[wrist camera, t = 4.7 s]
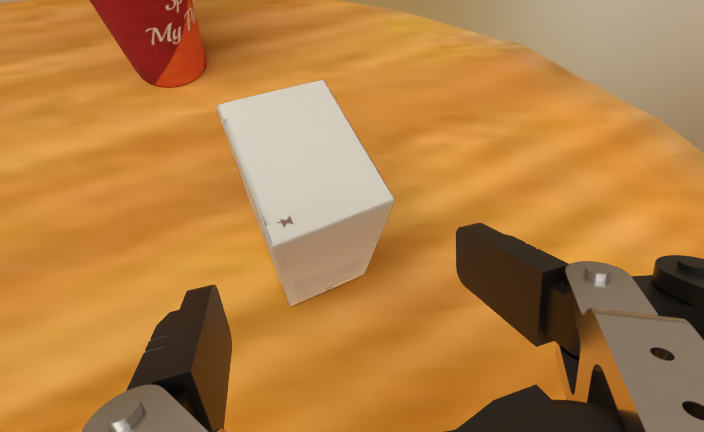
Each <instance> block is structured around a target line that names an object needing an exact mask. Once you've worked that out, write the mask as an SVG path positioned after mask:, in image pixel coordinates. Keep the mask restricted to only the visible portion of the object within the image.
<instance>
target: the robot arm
mask: <svg viewBox="0 0 704 432" xmlns="http://www.w3.org/2000/svg"><path fill="white" fill-rule="evenodd" d="M456 268H457V274H458V277H459V279H460V281H461V282H462V284H463V285H464V286H465V287H466V288H468V289H469V290H470V291H471V292H472V293H473V294H475V295H476V296H477V297H478V298H479V299H481V300H482V301H483V302H484V303H485V304H486V305H488V306H489V307H490V308H491V309H492V310H494V311H495V312H496V313H497V314H498V315H499V316H501V317H502V318H503V319H504V320H505V321H507V322H508V323H509V324H510V325H511V326H512V327H514V328H515V329H516V330H517V331H518V332H519V333H521V334H522V335H523V336H524V337H525V338H527V339H528V340H529V341H530V342H531V343H532V344H534V345H535V346H536V347H537V346H540V345H543V344H546V343H549V342H552V341H555V342H556V343H557V350H556V355H557V360H558V364H559V368H560V373H561V377H562V381H563V385H564V390H565V394H566V398H567V400H551V399H550V398H549V397H548V396H547V395H546V394H545V393H544V392H543V391H542V390H541V389H540V388H539V387H538V386H537V385H534V386H531V387H528V388H525V389H523V390H520V391H517V392H515V393H512V394H509V395H507V396H504V397H501V398H498V399H496V400H493V401H492V402H491V403H490V404H488V405H487V406H486V407H484V408H483V409H482V410H481V411H479V412H478V413H477V414H476V415H474V416H473V417H472V418H470V419H469V420H468V421H467V422H465V423H464V424H463V425H461V426H460V427H459V428H457V429H455V430H453V431H446V432H704V259H701V258H696V257H690V256H679V255H671V256H663V257H660V258H658V259H657V260H656V262H655V267H654V271H653V275H648V276H630V275H629V274H628V273H627V272H626V271H624V270H622V269H620V268H618V267H615V266H612V265H609V264H605V263H600V262H591V261H581V262H575V263H572V264H568V263H566V262H564V261H562V260H560V259H558V258H556V257H554V256H552V255H550V254H547V253H545V252H543V251H541V250H539V249H536V248H535V247H533V246H531V245H529V244H526V243H525V242H523V241H521V240H519V239H517V238H515V237H513V236H509V235H505V234H502V233H500V232H498V231H496V230H494V229H492V228H490V227H488V226H486V225H484V224H482V223H476V224H471V225H467V226H463V227H459V228H458V229H457V232H456ZM145 351H146V353H144V354H143V356H142V358H141V360H140V362H139V365H138V367H137V369H136V371H135V373H134V375H133V377H132V380H131V382H130V384H129V386H128V388H127V390H126V392H124V393H122V394H120V395H118V396H116V397H115V398H113V399H112V400H110V401H109V402H107V403H106V404H105V405H104V406H102V407H101V408H100V409H99V410H98V411H97V412H96V413H95V414H94V415H93V416H92V417H91V418H90V419H89V421H88V422H87V424H86V425H85V426H84V428H83V430H82V432H226V431H225V430H223V429H224V420H225V410H226V400H227V391H228V381H229V372H230V362H231V353H232V340H231V333H230V329H229V325H228V322H227V318H226V315H225V312H224V309H223V305H222V302H221V299H220V295H219V292H218V289H217V287H216V286H215V285H210V286H205V287H201V288H197V289H192V290H188V291H187V292H186V294H185V297H184V300H183V302H182V305H181V307H180V310H177V311H173V312H170V313H169V314H168V315H167V316H166V317H165V318H164V319H163V320H162V321H161V322H160V323H159V324H158V325H157V326H156V328H155V330H154V332H153V334H152V337H151V341H149V343H148V345H147V347H146V349H145Z"/></svg>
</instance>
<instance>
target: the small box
mask: <svg viewBox="0 0 704 432" xmlns="http://www.w3.org/2000/svg"><path fill="white" fill-rule="evenodd" d="M217 111H218V114H219V117H220V120H221V122H222V125H223V128H224V131H225V134H226V136H227V139H228V142H229V145H230V148H231V150H232V153H233V156H234V159H235V162H236V164H237V167H238V170H239V173H240V176H241V178H242V181H243V184H244V187H245V190H246V193H247V195H248V198H249V201H250V204H251V207H252V209H253V212H254V214H255V217H256V219H257V222H258V225H259V227H260V230H261V232H262V235H263V237H264V240H265V242H266V245H267V248H268V250H269V253H270V256H271V258H272V261H273V263H274V266H275V269H276V271H277V274H278V276H279V279H280V282H281V284H282V287H283V289H284V292H285V294H286V297H287V300H288V302H289V304H290V306H293V305H295V304H297V303H300V302H302V301H304V300H307V299H309V298H311V297H313V296H316V295H318V294H320V293H323V292H325V291H327V290H330V289H332V288H334V287H337V286H339V285H341V284H343V283H346V282H348V281H350V280H353V279H355V278H357V277H359V276H362V275H364V274H365V271H366V269H367V267H368V264H369V262H370V259H371V257H372V255H373V252H374V250H375V248H376V245H377V243H378V240H379V238H380V236H381V233H382V231H383V228H384V226H385V224H386V221H387V219H388V216H389V214H390V212H391V209H392V207H393V204H394V202H395V198H394V196H393V195H392V193H391V192H390V190H389V188H388V186H387V185H386V183H385V181H384V180H383V178H382V176H381V175H380V173H379V171H378V170H377V168H376V166H375V165H374V163H373V161H372V160H371V158H370V156H369V155H368V153H367V151H366V150H365V148H364V146H363V145H362V143H361V142H360V140H359V138H358V136H357V135H356V133H355V131H354V130H353V128H352V126H351V125H350V123H349V121H348V120H347V118H346V116H345V115H344V113H343V111H342V110H341V108H340V106H339V105H338V103H337V101H336V100H335V98H334V96H333V94H332V93H331V91H330V89H329V88H328V86H327V84H326V82H325V81H324V80H320V81H316V82H310V83H306V84H302V85H297V86H293V87H289V88H285V89H280V90H276V91H272V92H268V93H263V94H259V95H255V96H251V97H247V98H242V99H238V100H234V101H230V102H226V103H222V104H219V105H218V106H217Z"/></svg>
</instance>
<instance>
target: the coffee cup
mask: <svg viewBox="0 0 704 432" xmlns="http://www.w3.org/2000/svg"><path fill="white" fill-rule="evenodd" d="M90 2H91V3H92V5H93V6H94V8H95V9H96V11H97V12H98V14H99V15H100V17H101V18H102V20H103V22H104V23H105V25H106V26H107V28H108V29H109V31H110V32H111V34H112V35H113V37H114V38H115V40H116V41H117V43H118V45H119V46H120V48H121V49H122V51H123V52H124V54H125V55H126V57H127V58H128V60H129V61H130V63H131V64H132V66H133V67H134V68H135V70H136V71H137V73H138V74H139V75H140V76H141V78H142V79H143V80H145V81H146V82H148V83H150V84H152V85H155V86H159V87H179V86H183V85H186V84H189V83H191V82H193V81H195V80H196V79H197V78H199V77H200V76H201V75H202V73H203V72H204V70H205V68H206V57H205V52H204V48H203V43H202V39H201V35H200V31H199V27H198V23H197V19H196V15H195V11H194V7H193V3H192V0H90Z"/></svg>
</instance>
